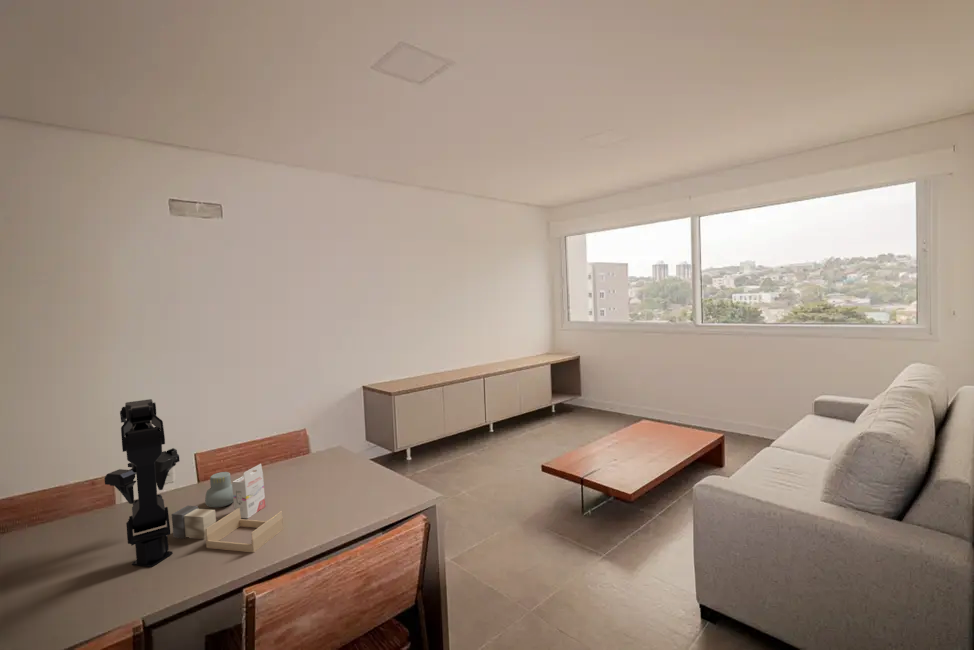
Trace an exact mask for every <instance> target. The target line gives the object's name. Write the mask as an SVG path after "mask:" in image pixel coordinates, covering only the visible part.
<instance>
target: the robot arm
mask: <svg viewBox="0 0 974 650" xmlns="http://www.w3.org/2000/svg"><path fill="white" fill-rule="evenodd" d="M124 404H125V406H122V407H121V410H120V411H119V414H120V423H123V425H122V426H121V427H120V434H121V447H122V452H126V460H127V461H128V462H129V463H127V468H130V469H121V468H119V469H117V470H116V469H115V470H114V471H111V472H109V473H107V474H106V475H105V476H104V485H106V486H108V485H109V486H111V487H115V489H117V491H119V492H120V493H121V495H122V496H123V497H124V499H125V500H126V501H127V503H128V504H129V505H132V507H131V513H132V515H131V516H129V518H128V519H127V520H128V521H127V522H126V523H125V524H126V526H125V527H126V537H127V538H126V539H127V544H128V545H131V546H135V556H136V557H135V558H136V559H135V560H134V561H132V562H131V565H132V566H140V567H148V568H152V567H154V566H155V565H157V564H159V563H160V562H162V561H163V560H165V559H167V558H168V557H170V556H171V555H172V554H173V550H172V551H171V550H169V538H168V536H170V535H171V525H170V524H171V523H170V516H169V515H170V514H169V509H168V508H169V507H168V506H165V500H164V499H163V495H162V494H158V490H159V491H162V490H164V486H165V485H166V484H165V483H166V481H167V478H168V475H169V472H170V470H171V469H172V468H174V467H175V466H176V465H177V463H179V462H180V455H179V454H178V450H177V449H176V448H174V447H173V448H170V449H167V451H166V450H164V451H163V445H165V444H166V437H165V430H164V428H165V427H164V423H163V422H164V421H163V420H162V419H161V418H160V417H159V416H157V406H156V402H153V399H150V398H149V399H142V400H135V401H126V402H125V403H124ZM135 479H136V480H135ZM135 484H137V498H138V499H135V494H134V485H135ZM157 488H158V490H157ZM159 527H160V528H159ZM148 530H150V531H148ZM137 533H139V534H137ZM134 534H135V535H134Z"/></svg>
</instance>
